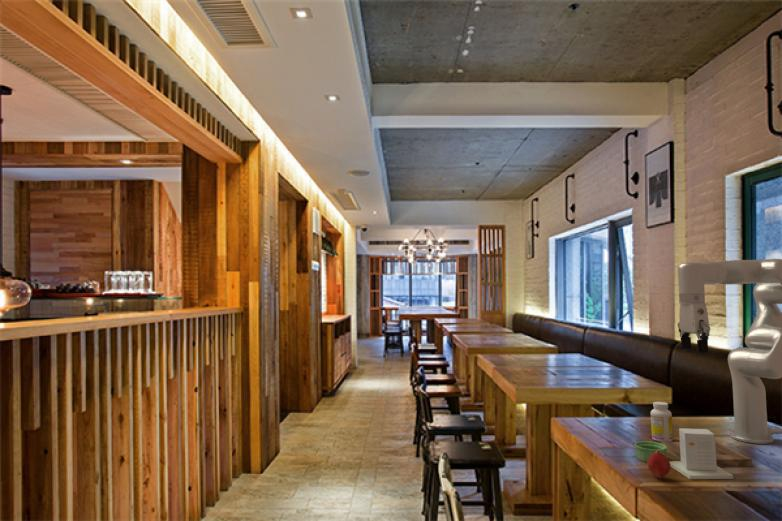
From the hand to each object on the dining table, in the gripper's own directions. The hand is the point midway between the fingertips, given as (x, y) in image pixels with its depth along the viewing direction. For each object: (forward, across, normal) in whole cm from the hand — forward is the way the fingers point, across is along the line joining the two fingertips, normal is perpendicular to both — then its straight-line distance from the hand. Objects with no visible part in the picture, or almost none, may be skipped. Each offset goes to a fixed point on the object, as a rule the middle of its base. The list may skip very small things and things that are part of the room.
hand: (694, 350), depth 173 cm
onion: (+32, -26, +26) cm, 49 cm away
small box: (+32, -21, +12) cm, 40 cm away
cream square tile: (+32, -21, +12) cm, 40 cm away
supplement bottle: (+32, +10, +7) cm, 35 cm away
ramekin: (+33, -10, +20) cm, 40 cm away
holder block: (+32, -8, +3) cm, 33 cm away
